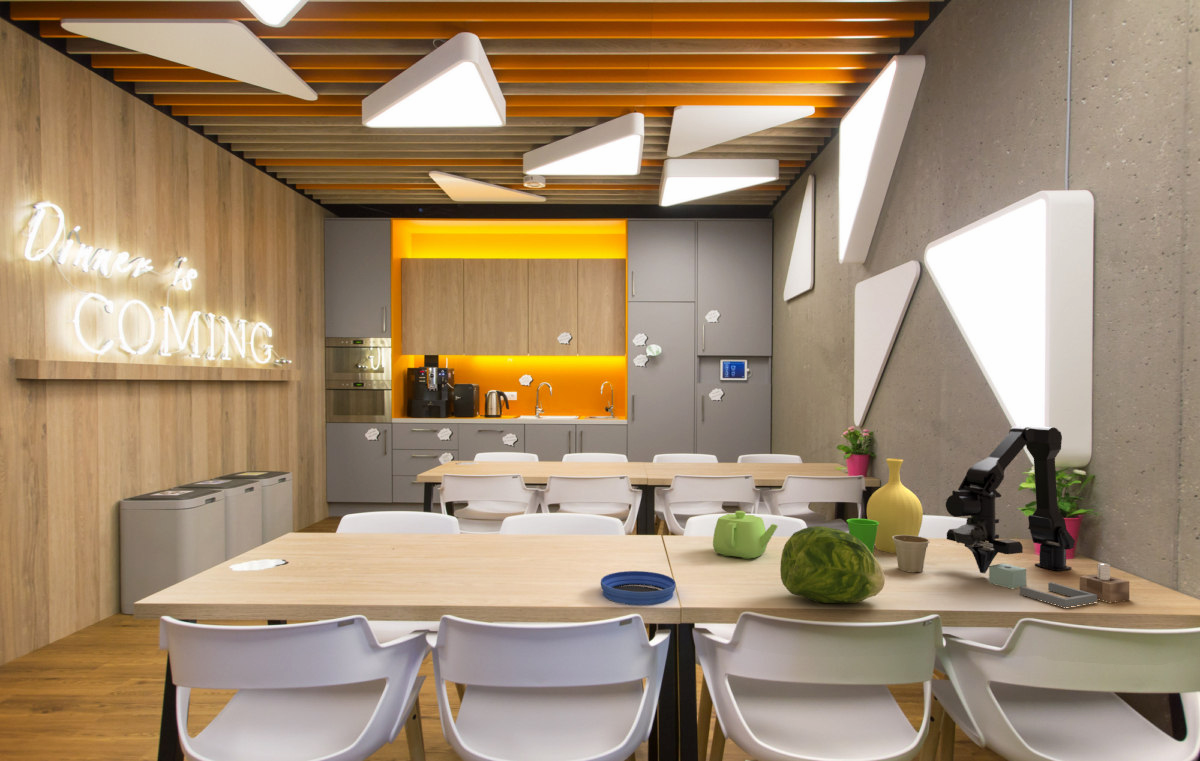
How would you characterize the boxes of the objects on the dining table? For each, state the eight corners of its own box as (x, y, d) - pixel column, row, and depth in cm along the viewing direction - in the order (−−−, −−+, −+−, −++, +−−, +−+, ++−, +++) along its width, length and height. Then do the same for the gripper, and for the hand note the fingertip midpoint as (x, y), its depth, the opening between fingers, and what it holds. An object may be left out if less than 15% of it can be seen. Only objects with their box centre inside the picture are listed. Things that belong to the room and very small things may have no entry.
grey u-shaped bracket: (1051, 590, 169) (1051, 582, 169) (1097, 603, 159) (1097, 594, 159) (1019, 594, 165) (1019, 586, 165) (1065, 608, 155) (1065, 599, 155)
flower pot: (933, 575, 182) (933, 543, 182) (896, 573, 184) (896, 541, 184) (924, 566, 191) (924, 535, 191) (888, 564, 193) (888, 534, 193)
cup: (878, 556, 202) (878, 519, 202) (880, 564, 193) (880, 525, 193) (845, 554, 205) (846, 517, 205) (846, 561, 196) (846, 523, 196)
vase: (932, 556, 203) (932, 462, 203) (878, 555, 203) (878, 462, 203) (908, 543, 219) (909, 456, 219) (858, 543, 219) (859, 456, 219)
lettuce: (909, 581, 148) (885, 519, 163) (805, 562, 147) (791, 502, 162) (875, 631, 158) (855, 568, 173) (778, 614, 157) (767, 552, 172)
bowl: (653, 612, 151) (654, 596, 151) (586, 598, 161) (586, 583, 161) (687, 592, 167) (687, 577, 167) (624, 580, 176) (624, 566, 176)
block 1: (1002, 580, 178) (1002, 562, 178) (1026, 586, 173) (1026, 568, 173) (989, 583, 175) (989, 565, 175) (1012, 589, 170) (1012, 571, 170)
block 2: (1098, 591, 168) (1098, 573, 168) (1129, 600, 162) (1129, 581, 162) (1079, 594, 166) (1079, 576, 166) (1110, 603, 159) (1110, 584, 159)
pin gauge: (1101, 595, 165) (1101, 562, 165) (1112, 598, 163) (1112, 565, 163) (1095, 596, 164) (1095, 563, 164) (1105, 599, 162) (1105, 565, 162)
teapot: (787, 553, 205) (787, 510, 205) (765, 567, 188) (765, 521, 189) (729, 545, 215) (730, 504, 215) (704, 558, 198) (704, 513, 198)
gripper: (931, 510, 187) (931, 566, 187) (992, 523, 169) (992, 585, 169) (961, 507, 191) (961, 563, 191) (1024, 520, 173) (1024, 581, 173)
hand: (982, 572), depth 181 cm, fingers closed
